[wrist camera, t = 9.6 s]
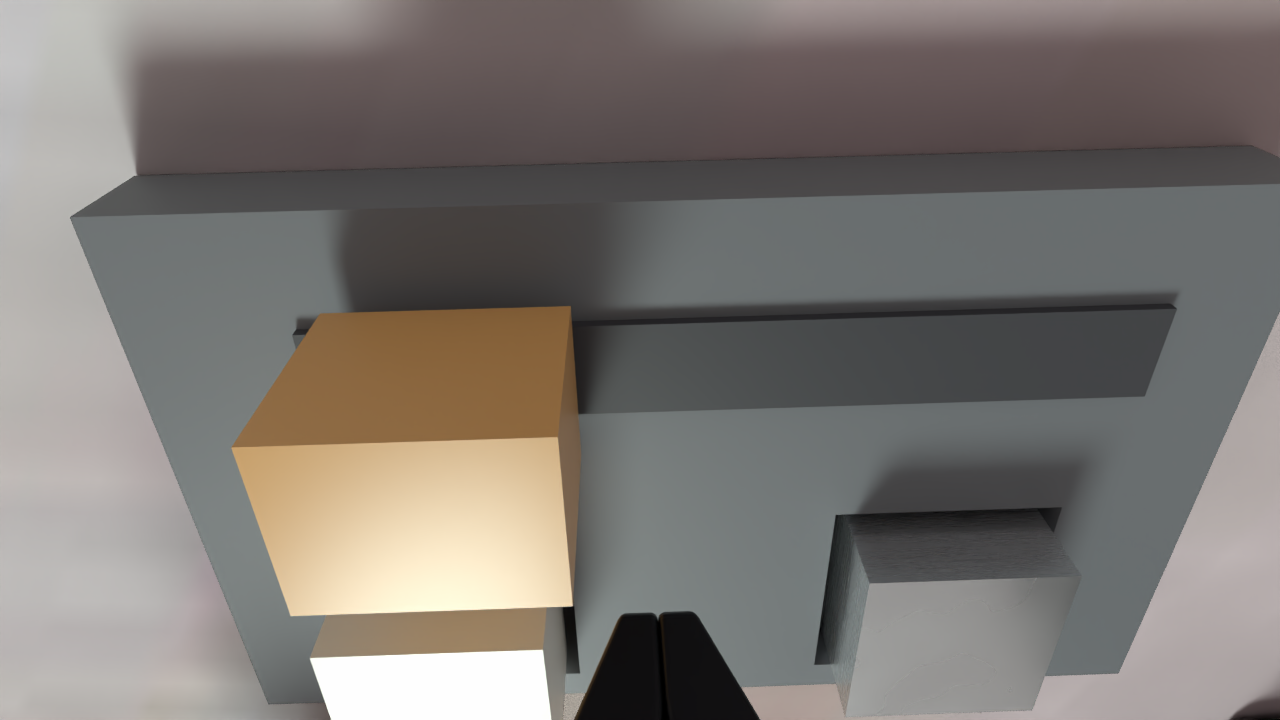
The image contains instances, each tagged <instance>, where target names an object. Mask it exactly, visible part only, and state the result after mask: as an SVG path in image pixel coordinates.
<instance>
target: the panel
mask: <svg viewBox="0 0 1280 720" xmlns="http://www.w3.org/2000/svg"><path fill="white" fill-rule="evenodd" d="M70 219H71V221H72V224H73V226H74V229H75V231H76V234H77V236H78V239H79V241H80V244H81V246H82V248H83V251H84V253H85V256H86V258H87V261H88V263H89V266H90V268H91V270H92V273H93V275H94V278H95V280H96V283H97V285H98V288H99V290H100V293H101V295H102V297H103V300H104V302H105V305H106V307H107V310H108V312H109V315H110V317H111V319H112V322H113V324H114V327H115V329H116V332H117V334H118V337H119V339H120V342H121V344H122V346H123V349H124V351H125V354H126V356H127V359H128V361H129V364H130V366H131V368H132V371H133V373H134V376H135V378H136V381H137V383H138V386H139V388H140V391H141V393H142V395H143V398H144V400H145V403H146V405H147V408H148V410H149V413H150V415H151V418H152V420H153V422H154V425H155V427H156V430H157V432H158V435H159V437H160V440H161V442H162V444H163V447H164V449H165V452H166V454H167V457H168V459H169V462H170V464H171V467H172V469H173V471H174V474H175V476H176V479H177V481H178V484H179V486H180V489H181V491H182V493H183V496H184V498H185V501H186V503H187V506H188V508H189V511H190V513H191V516H192V518H193V520H194V523H195V525H196V528H197V530H198V533H199V535H200V538H201V540H202V542H203V545H204V547H205V550H206V552H207V555H208V557H209V560H210V562H211V565H212V567H213V569H214V572H215V574H216V577H217V579H218V582H219V584H220V587H221V589H222V591H223V594H224V596H225V599H226V601H227V604H228V606H229V609H230V611H231V614H232V616H233V618H234V621H235V623H236V626H237V628H238V631H239V633H240V636H241V638H242V641H243V643H244V645H245V648H246V650H247V653H248V655H249V658H250V660H251V663H252V665H253V667H254V670H255V672H256V675H257V677H258V680H259V682H260V685H261V687H262V690H263V692H264V694H265V697H266V699H267V702H268V704H293V703H321V702H325V701H324V698H323V695H322V692H321V689H320V686H319V683H318V681H317V678H316V675H315V672H314V669H313V666H312V663H311V661H310V656H311V653H312V651H313V648H314V646H315V643H316V640H317V638H318V635H319V633H320V630H321V627H322V625H323V622H324V620H325V617H326V615H311V616H291V615H290V613H289V610H288V607H287V604H286V601H285V598H284V596H283V593H282V590H281V587H280V584H279V581H278V579H277V576H276V573H275V570H274V567H273V564H272V562H271V559H270V556H269V553H268V550H267V548H266V545H265V542H264V539H263V536H262V533H261V531H260V528H259V525H258V522H257V519H256V516H255V514H254V511H253V508H252V505H251V502H250V499H249V497H248V494H247V491H246V488H245V485H244V482H243V480H242V477H241V474H240V471H239V468H238V465H237V463H236V460H235V457H234V454H233V451H232V449H231V447H232V446H233V444H234V443H235V441H236V440H237V438H238V436H239V435H240V433H241V432H242V430H243V429H244V427H245V426H246V424H247V423H248V421H249V420H250V418H251V417H252V415H253V414H254V412H255V411H256V409H257V408H258V406H259V405H260V403H261V402H262V400H263V399H264V397H265V396H266V394H267V393H268V391H269V390H270V388H271V387H272V385H273V384H274V382H275V381H276V379H277V378H278V376H279V375H280V373H281V372H282V370H283V369H284V367H285V366H286V364H287V363H288V361H289V360H290V358H291V356H292V355H293V353H294V352H295V350H296V349H297V347H298V346H299V344H300V343H301V341H302V340H303V338H304V337H305V335H306V334H307V332H308V331H309V329H310V328H311V326H312V325H313V323H314V322H315V320H316V319H317V317H318V316H319V314H320V313H353V312H387V311H421V310H455V309H489V308H523V307H557V306H571V318H572V332H573V346H574V360H575V374H576V388H577V403H578V417H579V431H580V445H581V467H580V485H579V503H578V521H577V540H576V558H575V576H574V594H573V597H574V606H569V607H563V614H564V624H565V634H566V645H567V661H566V678H565V694H567V693H586V691H587V689H588V687H589V684H590V682H591V680H592V677H593V675H594V673H595V670H596V668H597V666H598V664H599V661H600V659H601V657H602V654H603V652H604V650H605V647H606V645H607V643H608V641H609V638H610V636H611V634H612V631H613V629H614V627H615V625H616V622H617V620H618V619H619V617H620V616H621V615H622V614H625V613H646V612H651V613H654V614H656V616H657V618H658V617H659V615H660V614H661V613H663V612H673V611H692V612H694V613H696V615H697V616H698V617H699V618H700V620H701V622H702V623H703V625H704V627H705V628H706V630H707V632H708V633H709V635H710V637H711V638H712V640H713V642H714V643H715V645H716V647H717V648H718V650H719V652H720V653H721V655H722V657H723V658H724V660H725V662H726V663H727V665H728V667H729V668H730V670H731V672H732V673H733V675H734V677H735V678H736V680H737V682H738V683H739V685H740V687H759V686H786V685H814V684H836V682H835V678H834V675H833V671H832V667H831V664H830V660H829V656H828V653H827V649H826V645H825V642H824V638H823V634H822V631H821V627H820V621H821V614H822V607H823V600H824V593H825V586H826V579H827V572H828V565H829V558H830V551H831V544H832V537H833V530H834V523H835V516H836V515H844V514H874V513H904V512H934V511H964V510H993V509H1023V508H1037V509H1038V511H1039V512H1040V514H1041V515H1042V517H1043V518H1044V520H1045V521H1046V523H1047V524H1048V526H1049V527H1050V529H1051V530H1052V532H1053V533H1054V535H1055V536H1056V538H1057V539H1058V541H1059V542H1060V544H1061V545H1062V547H1063V548H1064V550H1065V551H1066V553H1067V554H1068V556H1069V557H1070V559H1071V560H1072V562H1073V563H1074V565H1075V566H1076V568H1077V569H1078V571H1079V572H1080V574H1081V575H1082V578H1081V580H1080V583H1079V586H1078V588H1077V591H1076V594H1075V596H1074V599H1073V602H1072V604H1071V607H1070V610H1069V613H1068V615H1067V618H1066V621H1065V623H1064V626H1063V629H1062V631H1061V634H1060V637H1059V639H1058V642H1057V645H1056V647H1055V650H1054V653H1053V655H1052V658H1051V661H1050V663H1049V666H1048V669H1047V671H1046V674H1045V676H1060V675H1088V674H1115V673H1119V671H1120V669H1121V667H1122V664H1123V662H1124V660H1125V658H1126V655H1127V653H1128V651H1129V649H1130V646H1131V644H1132V642H1133V640H1134V637H1135V635H1136V633H1137V631H1138V628H1139V626H1140V624H1141V622H1142V619H1143V617H1144V615H1145V613H1146V610H1147V608H1148V606H1149V604H1150V601H1151V599H1152V597H1153V595H1154V592H1155V590H1156V588H1157V586H1158V583H1159V581H1160V579H1161V577H1162V574H1163V572H1164V570H1165V568H1166V566H1167V563H1168V561H1169V559H1170V557H1171V554H1172V552H1173V550H1174V548H1175V545H1176V543H1177V541H1178V539H1179V536H1180V534H1181V532H1182V530H1183V527H1184V525H1185V523H1186V521H1187V518H1188V516H1189V514H1190V512H1191V509H1192V507H1193V505H1194V503H1195V500H1196V498H1197V496H1198V494H1199V491H1200V489H1201V487H1202V485H1203V482H1204V480H1205V478H1206V476H1207V473H1208V471H1209V469H1210V467H1211V464H1212V462H1213V460H1214V458H1215V455H1216V453H1217V451H1218V449H1219V447H1220V444H1221V442H1222V440H1223V438H1224V435H1225V433H1226V431H1227V429H1228V426H1229V424H1230V422H1231V420H1232V417H1233V415H1234V413H1235V411H1236V408H1237V406H1238V404H1239V402H1240V399H1241V397H1242V395H1243V393H1244V390H1245V388H1246V386H1247V384H1248V381H1249V379H1250V377H1251V375H1252V372H1253V370H1254V368H1255V366H1256V363H1257V361H1258V359H1259V357H1260V354H1261V352H1262V350H1263V348H1264V345H1265V343H1266V341H1267V339H1268V336H1269V334H1270V332H1271V330H1272V327H1273V325H1274V323H1275V321H1276V319H1277V316H1278V314H1279V312H1280V158H1279V157H1277V156H1275V155H1272V154H1270V153H1268V152H1265V151H1263V150H1261V149H1258V148H1256V147H1254V146H1226V147H1188V148H1151V149H1114V150H1076V151H1039V152H1002V153H964V154H927V155H889V156H852V157H815V158H777V159H740V160H703V161H665V162H628V163H591V164H553V165H516V166H479V167H441V168H404V169H367V170H329V171H292V172H255V173H217V174H180V175H143V176H134V177H132V178H131V179H129V180H127V181H126V182H124V183H123V184H121V185H120V186H118V187H116V188H115V189H113V190H112V191H110V192H109V193H107V194H105V195H104V196H102V197H101V198H99V199H98V200H96V201H94V202H93V203H91V204H90V205H88V206H87V207H85V208H84V209H82V210H80V211H79V212H77V213H76V214H74V215H73V216H71V217H70Z"/></svg>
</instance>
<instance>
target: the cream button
mask: <svg viewBox="0 0 1280 720" xmlns="http://www.w3.org/2000/svg"><path fill="white" fill-rule="evenodd" d="M310 661H311V663H312V666H313V669H314V672H315V675H316V678H317V681H318V683H319V686H320V689H321V692H322V695H323V698H324V701H325V703H326V706H327V709H328V712H329V715H330V718H331V720H563V712H564V695H565V678H566V661H567V645H566V634H565V624H564V614H563V607H540V608H512V609H483V610H454V611H426V612H397V613H368V614H340V615H326V617H325V620H324V622H323V625H322V627H321V630H320V633H319V635H318V638H317V640H316V643H315V646H314V648H313V651H312V653H311V656H310Z"/></svg>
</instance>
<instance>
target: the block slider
mask: <svg viewBox="0 0 1280 720" xmlns="http://www.w3.org/2000/svg"><path fill="white" fill-rule="evenodd" d="M231 449H232V451H233V454H234V457H235V460H236V463H237V465H238V468H239V471H240V474H241V477H242V480H243V482H244V485H245V488H246V491H247V494H248V497H249V499H250V502H251V505H252V508H253V511H254V514H255V516H256V519H257V522H258V525H259V528H260V531H261V533H262V536H263V539H264V542H265V545H266V548H267V550H268V553H269V556H270V559H271V562H272V564H273V567H274V570H275V573H276V576H277V579H278V581H279V584H280V587H281V590H282V593H283V596H284V598H285V601H286V604H287V607H288V610H289V613H290V615H291V616H311V615H340V614H368V613H397V612H426V611H454V610H483V609H512V608H540V607H569V606H573V594H574V576H575V558H576V540H577V521H578V503H579V485H580V467H581V445H580V431H579V417H578V403H577V388H576V374H575V360H574V346H573V332H572V318H571V306H557V307H523V308H489V309H455V310H421V311H387V312H353V313H320V314H319V316H318V317H317V319H316V320H315V322H314V323H313V325H312V326H311V328H310V329H309V331H308V332H307V334H306V335H305V337H304V338H303V340H302V341H301V343H300V344H299V346H298V347H297V349H296V350H295V352H294V353H293V355H292V356H291V358H290V360H289V361H288V363H287V364H286V366H285V367H284V369H283V370H282V372H281V373H280V375H279V376H278V378H277V379H276V381H275V382H274V384H273V385H272V387H271V388H270V390H269V391H268V393H267V394H266V396H265V397H264V399H263V400H262V402H261V403H260V405H259V406H258V408H257V409H256V411H255V412H254V414H253V415H252V417H251V418H250V420H249V421H248V423H247V424H246V426H245V427H244V429H243V430H242V432H241V433H240V435H239V436H238V438H237V440H236V441H235V443H234V444H233V446H232V447H231Z"/></svg>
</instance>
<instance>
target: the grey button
mask: <svg viewBox="0 0 1280 720" xmlns="http://www.w3.org/2000/svg"><path fill="white" fill-rule="evenodd" d="M1081 578H1082V575H1081V574H1080V572H1079V571H1078V569H1077V568H1076V566H1075V565H1074V563H1073V562H1072V560H1071V559H1070V557H1069V556H1068V554H1067V553H1066V551H1065V550H1064V548H1063V547H1062V545H1061V544H1060V542H1059V541H1058V539H1057V538H1056V536H1055V535H1054V533H1053V532H1052V530H1051V529H1050V527H1049V526H1048V524H1047V523H1046V521H1045V520H1044V518H1043V517H1042V515H1041V514H1040V512H1039V511H1038V509H1037V508H1023V509H993V510H964V511H934V512H904V513H874V514H844V515H836V516H835V523H834V530H833V537H832V544H831V551H830V558H829V565H828V572H827V579H826V586H825V593H824V600H823V607H822V614H821V621H820V627H821V631H822V634H823V638H824V642H825V645H826V649H827V653H828V656H829V660H830V664H831V667H832V671H833V675H834V678H835V682H836V685H837V689H838V693H839V696H840V700H841V704H842V707H843V711H844V715H845V717H864V716H891V715H918V714H945V713H972V712H999V711H1026V710H1032V709H1033V706H1034V704H1035V701H1036V698H1037V696H1038V693H1039V690H1040V687H1041V685H1042V682H1043V679H1044V677H1045V674H1046V671H1047V669H1048V666H1049V663H1050V661H1051V658H1052V655H1053V653H1054V650H1055V647H1056V645H1057V642H1058V639H1059V637H1060V634H1061V631H1062V629H1063V626H1064V623H1065V621H1066V618H1067V615H1068V613H1069V610H1070V607H1071V604H1072V602H1073V599H1074V596H1075V594H1076V591H1077V588H1078V586H1079V583H1080V580H1081Z"/></svg>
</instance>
